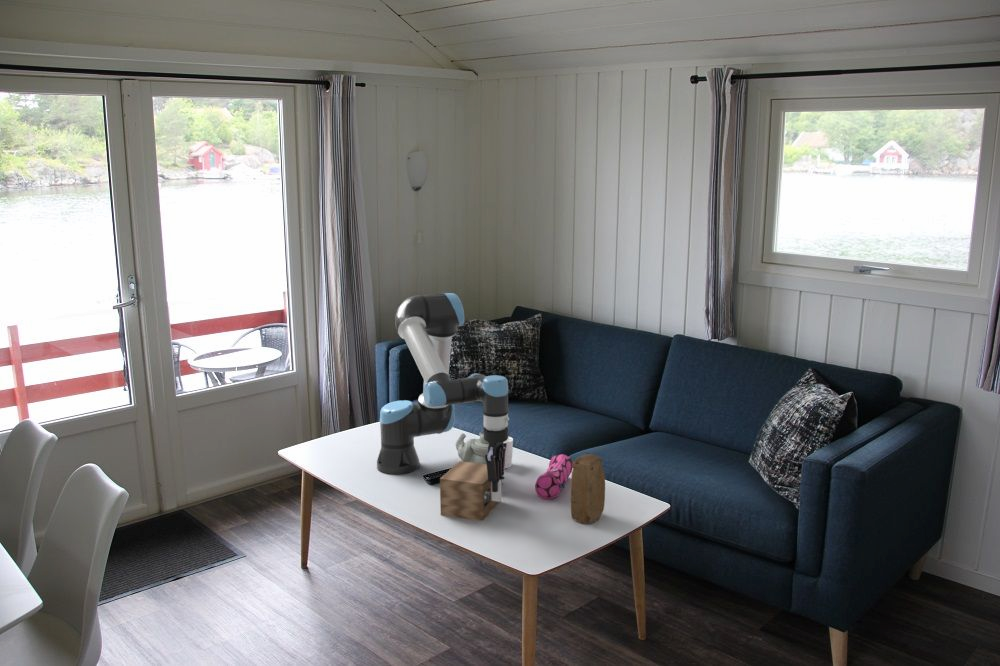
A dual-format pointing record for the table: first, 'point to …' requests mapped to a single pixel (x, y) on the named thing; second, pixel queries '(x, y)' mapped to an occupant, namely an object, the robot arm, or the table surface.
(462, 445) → the teapot
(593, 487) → the block
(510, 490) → the table surface
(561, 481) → the pencil case
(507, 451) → the white cup
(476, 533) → the table surface
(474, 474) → the walnut block
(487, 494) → the near peg
